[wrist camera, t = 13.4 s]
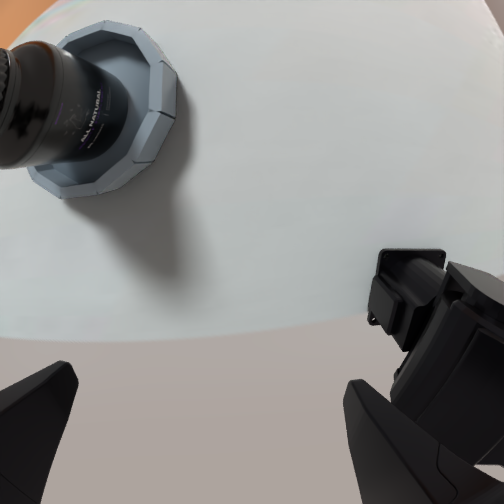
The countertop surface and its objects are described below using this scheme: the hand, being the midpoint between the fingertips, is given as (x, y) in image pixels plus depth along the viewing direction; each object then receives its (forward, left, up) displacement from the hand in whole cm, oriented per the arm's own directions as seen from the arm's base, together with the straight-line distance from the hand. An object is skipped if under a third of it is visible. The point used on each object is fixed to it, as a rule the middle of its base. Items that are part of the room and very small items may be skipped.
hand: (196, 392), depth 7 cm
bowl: (+10, -11, -13) cm, 20 cm away
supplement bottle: (+10, -11, -12) cm, 19 cm away
